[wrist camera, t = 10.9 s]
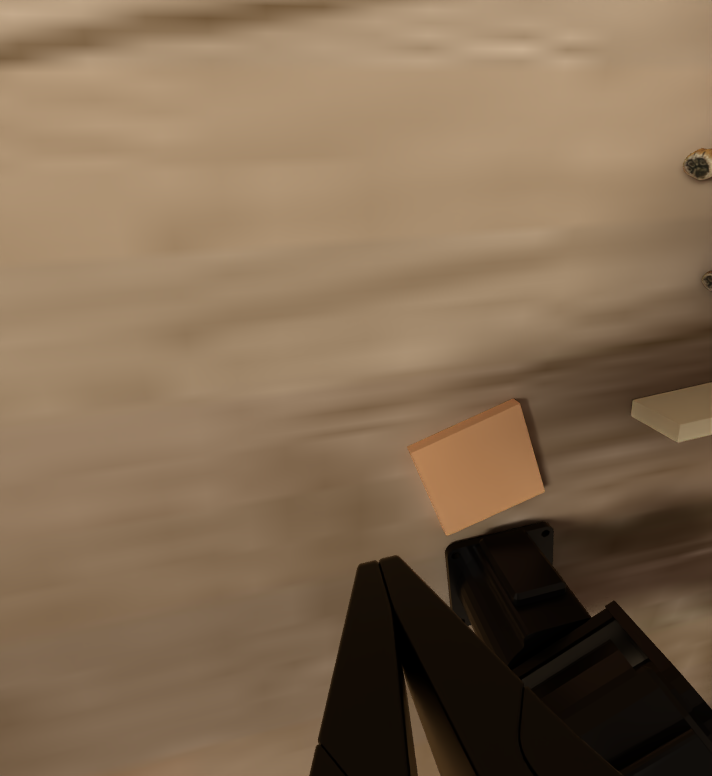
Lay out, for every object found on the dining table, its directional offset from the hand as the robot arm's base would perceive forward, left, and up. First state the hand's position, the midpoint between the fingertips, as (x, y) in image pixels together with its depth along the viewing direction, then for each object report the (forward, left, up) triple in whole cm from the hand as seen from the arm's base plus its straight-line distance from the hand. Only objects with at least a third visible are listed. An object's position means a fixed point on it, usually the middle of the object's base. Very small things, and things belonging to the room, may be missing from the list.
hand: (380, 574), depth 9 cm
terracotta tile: (-7, -7, -13) cm, 16 cm away
